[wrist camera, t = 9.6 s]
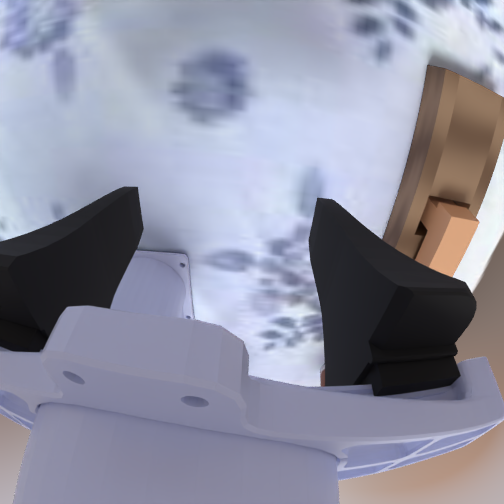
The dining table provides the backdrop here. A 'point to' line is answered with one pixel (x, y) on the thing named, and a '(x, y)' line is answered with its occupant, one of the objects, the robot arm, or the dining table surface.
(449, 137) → the rail
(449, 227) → the clip
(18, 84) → the dining table surface
